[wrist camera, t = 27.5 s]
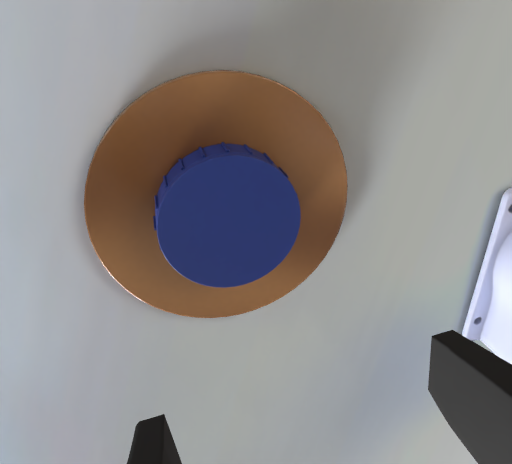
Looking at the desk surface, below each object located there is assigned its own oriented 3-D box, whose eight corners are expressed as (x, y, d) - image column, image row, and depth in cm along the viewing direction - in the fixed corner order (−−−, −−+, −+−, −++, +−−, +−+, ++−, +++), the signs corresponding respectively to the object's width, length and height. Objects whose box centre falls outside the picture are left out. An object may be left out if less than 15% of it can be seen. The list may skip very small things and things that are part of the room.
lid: (281, 128, 17) (294, 138, 16) (296, 251, 20) (308, 268, 19) (136, 159, 17) (136, 173, 15) (172, 283, 19) (175, 304, 18)
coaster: (330, 297, 23) (334, 303, 22) (104, 326, 20) (104, 333, 20) (358, 69, 18) (363, 70, 17) (62, 70, 15) (60, 72, 15)
